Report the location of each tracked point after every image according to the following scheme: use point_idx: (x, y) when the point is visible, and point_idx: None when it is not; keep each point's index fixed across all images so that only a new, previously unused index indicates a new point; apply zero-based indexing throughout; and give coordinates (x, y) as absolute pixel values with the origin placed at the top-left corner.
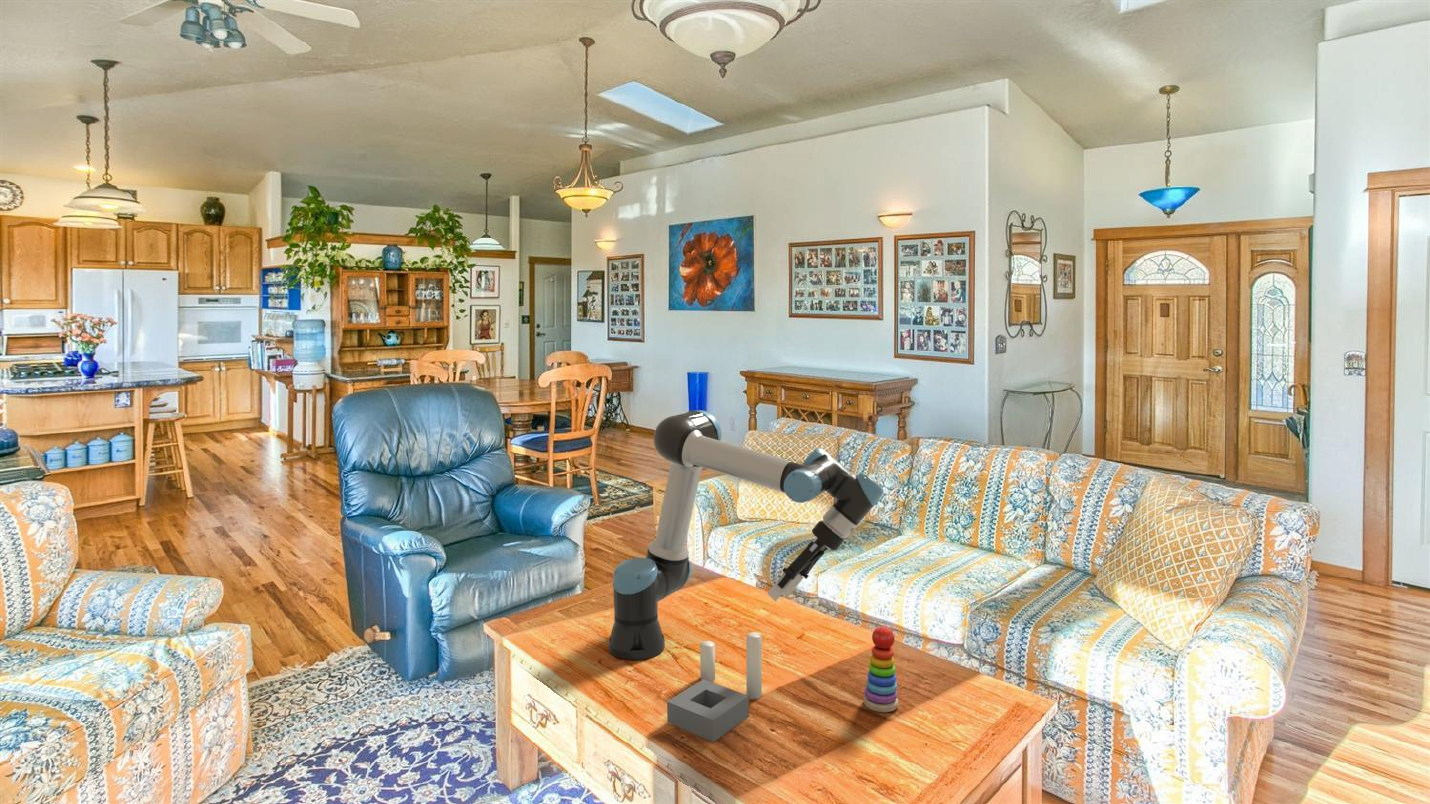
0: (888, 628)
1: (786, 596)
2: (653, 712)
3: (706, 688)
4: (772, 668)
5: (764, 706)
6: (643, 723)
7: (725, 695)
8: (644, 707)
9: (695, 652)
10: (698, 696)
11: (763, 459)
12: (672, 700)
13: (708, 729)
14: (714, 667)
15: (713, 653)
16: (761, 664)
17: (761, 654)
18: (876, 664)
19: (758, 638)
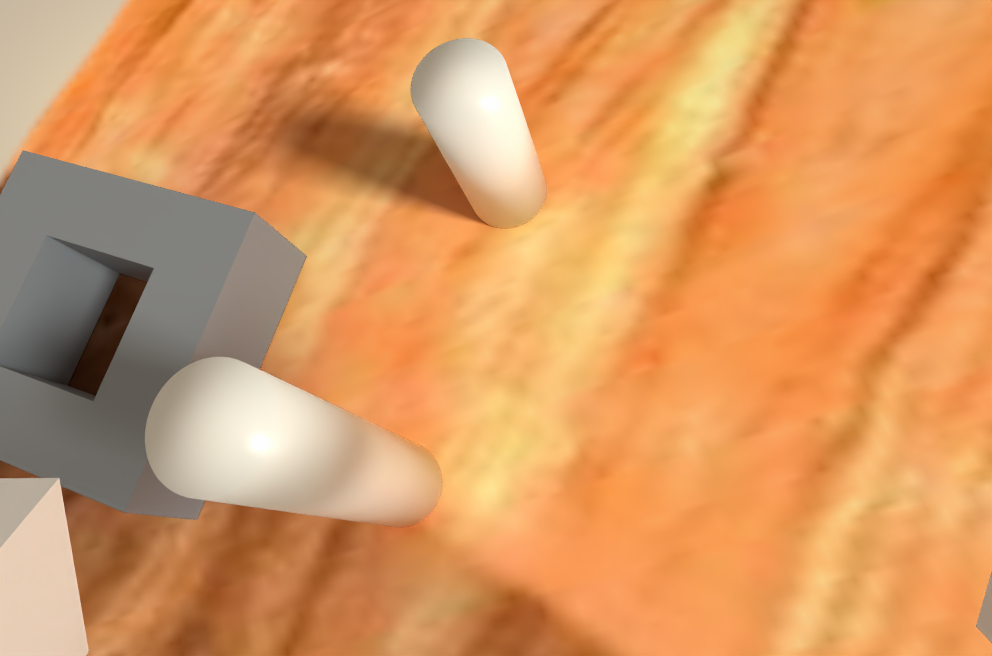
0: None
1: (989, 623)
2: (162, 111)
3: (164, 266)
4: (766, 498)
5: (308, 572)
6: (81, 116)
7: (108, 386)
8: (192, 61)
9: (784, 10)
10: (110, 257)
11: None
12: (34, 166)
13: None
14: (493, 197)
15: (457, 152)
16: (324, 515)
17: (287, 511)
18: None
19: (162, 483)
